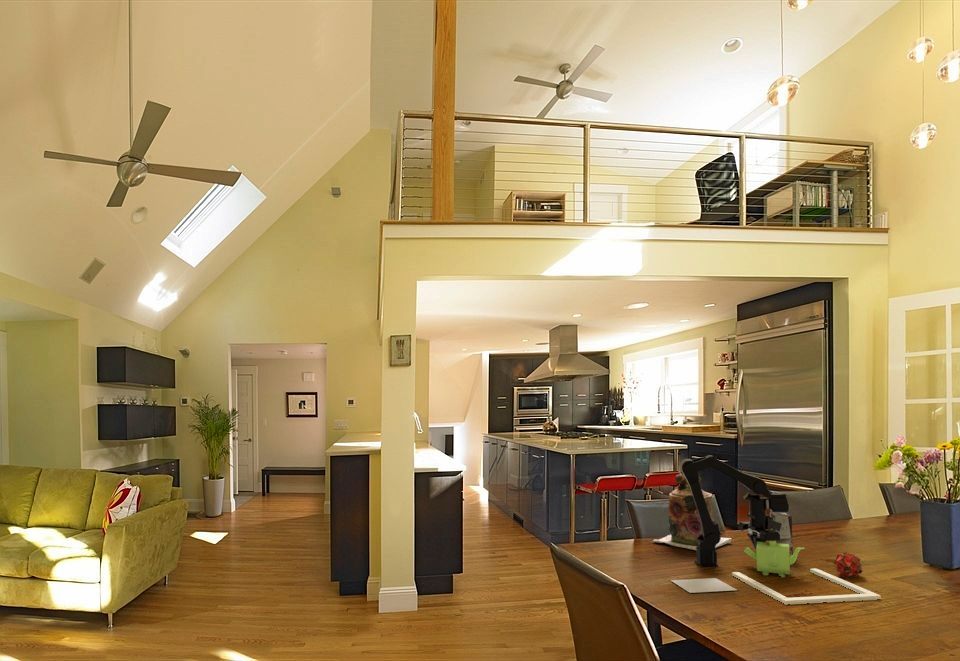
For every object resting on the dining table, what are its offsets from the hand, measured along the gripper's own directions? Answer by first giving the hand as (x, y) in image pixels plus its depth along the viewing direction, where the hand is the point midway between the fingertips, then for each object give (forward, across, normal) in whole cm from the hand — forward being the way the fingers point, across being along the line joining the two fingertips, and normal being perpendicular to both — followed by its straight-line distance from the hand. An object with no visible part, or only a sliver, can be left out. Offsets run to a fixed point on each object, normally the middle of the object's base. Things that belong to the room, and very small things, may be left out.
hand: (759, 554), depth 247 cm
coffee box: (+5, +13, -18) cm, 23 cm away
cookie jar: (+5, +38, +8) cm, 39 cm away
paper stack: (+4, -24, +37) cm, 44 cm away
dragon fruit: (+5, -17, -23) cm, 29 cm away
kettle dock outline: (+4, -25, +1) cm, 26 cm away
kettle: (+4, -10, +1) cm, 11 cm away
